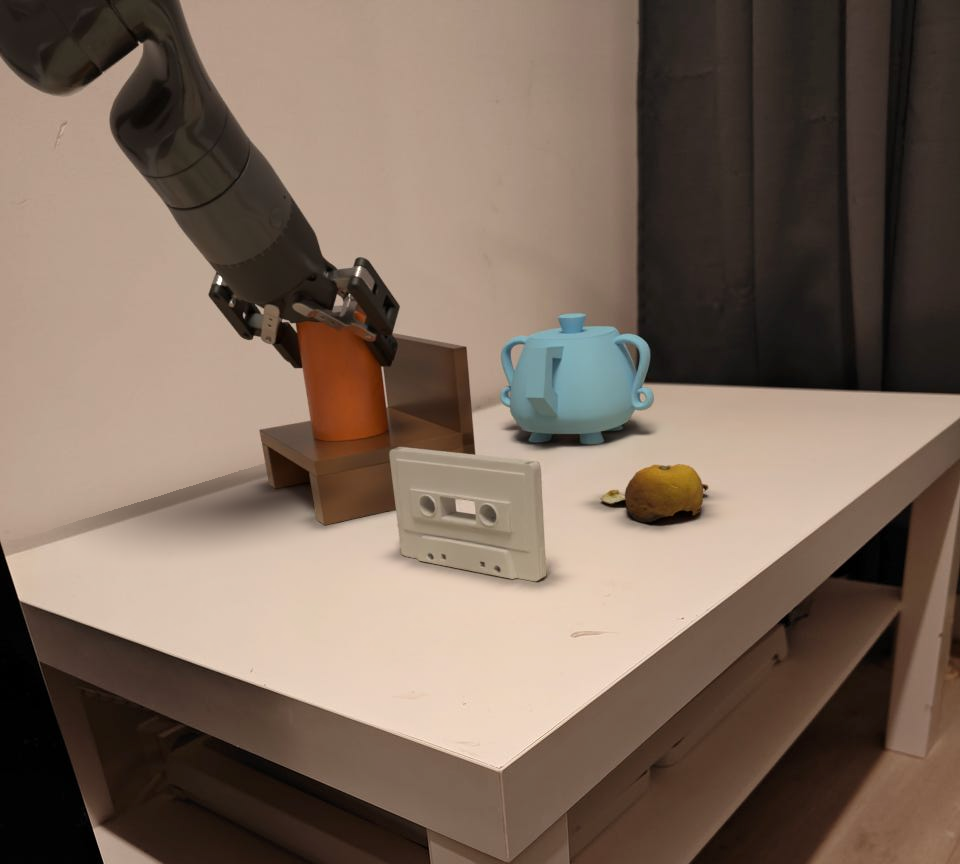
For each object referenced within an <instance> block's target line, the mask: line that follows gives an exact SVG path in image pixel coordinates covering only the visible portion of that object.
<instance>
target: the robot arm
mask: <svg viewBox="0 0 960 864" xmlns="http://www.w3.org/2000/svg"><path fill="white" fill-rule="evenodd" d="M140 44H142V54H141V57H140V59H139V61H138V64H137V65H136V67H135V69H134V70H133V71H132V73H131V74H130V76H129V77H128V79H127V80H126V81H125V82H124V84H123V85H122V87H121V88H120V89H119V91H118V92H117V95H116V97H115V98H114V100H113V102H112V105H111V108H110V112H109V118H108V119H109V120H108V121H109V129H110V132H111V135H112V137H113V140H114V141H115V142H116V144H117V146H118V147H119V149H120V150H121V151H122V153H123V154H124V155H125V157H126V158H127V159H128V161H129V162H130V163H131V165H132V166H134V168H135V169H136V171H138V172H139V174H140V175H141V176H142V177H143V178H144V179H145V181H146V183H148V185H149V186H150V187H151V188H152V190H153V191H154V192H155V193H156V195H158V197H159V198H160V199H161V200H162V202H163V203H164V205H165V206H166V207H167V209H168V211H169V212H170V214H171V216H172V217H173V219H174V221H175V223H176V224H177V225H178V227H179V228H180V229H181V231H182V232H183V233H184V234H185V236H186V237H187V238H188V240H189V241H190V242H191V243H192V244H193V246H194V247H195V248H196V249H197V250H198V252H199V253H200V254H201V255H202V257H203V258H204V259H205V260H206V262H208V264H209V265H210V266H211V268H213V270H214V272H215V274H214V276H213V279H212V282H211V285H210V288H209V291H208V295H207V296H208V298H210V300H211V301H212V303H213V304H214V305H215V306H216V307H217V309H218V310H219V311H220V313H221V314H222V315H223V316H224V318H225V319H226V320H227V322H228V323H229V324H230V325H231V327H232V328H233V329H234V330H235V332H236V333H237V334H238V336H239V337H240V338H242V339H243V340H246V341H252V340H253V339H254V337H258V338H260V340H261V341H262V342H264V344H265V343H266V344H268V345H272V346H273V347H274V349H275V350H276V351H277V352H278V354H279V355H280V356H281V357H282V358H283V360H284V361H286V362H287V363H289V364H290V365H291V367H292V368H293V369H303V368H302V362H301V355H300V349H299V342H298V336H297V330H295V328H294V327H293V326H292V324H296V323H301V322H305V321H309V322H322V323H324V324H326V325H328V326H330V327H331V328H333V329H335V330H337V331H339V332H344V331H345V330H348V331H350V332H352V333H354V334H355V335H357V336H359V337H361V338H363V339H364V342H365V344H366V345H367V347H368V348H369V350H370V351H371V353H372V354H373V356H374V357H375V358H376V360H377V361H378V363H379V364H380V366H381V368H383V367H390V366H391V364H392V361H394V358H395V354H396V351H397V347H398V342H397V341H396V339H395V338H394V336H393V335H392V333H394V329H395V326H396V322H397V319H398V315H399V311H400V309H401V306H400V304H399V302H398V301H397V299H396V298H395V296H394V295H393V294H392V292H391V290H390V289H389V288H388V286H387V285H386V283H385V282H384V281H383V279H382V278H381V276H380V275H379V273H378V272H377V270H376V268H375V267H374V266H373V264H372V263H371V261H370V260H369V259H367V258H365V257H361V256H358V257H356V258H355V260H354V263H353V266H352V267H347V268H345V267H344V268H338V267H336V265H334V264H332V263H331V262H330V261H329V260H327V259H326V258H325V257H324V255H323V253H322V249H321V246H320V243H319V239H318V236H317V234H316V232H315V230H314V228H313V227H312V226H311V224H310V223H309V221H308V219H307V218H306V216H305V215H304V214H303V213H304V212H302V210H301V208H300V207H299V205H298V204H297V203H296V201H295V200H294V197H293V196H292V195H291V193H290V192H289V191H288V189H287V187H286V185H285V184H284V183H283V181H282V180H281V178H280V177H279V175H278V173H277V172H276V170H275V169H274V167H273V166H272V165H271V163H270V162H269V160H268V159H267V158H266V156H265V155H264V154H263V153H262V151H261V150H259V148H258V147H257V146H256V145H255V144H254V142H252V141H251V138H250V137H249V136H248V135H247V133H246V131H245V130H244V129H243V127H242V125H240V122H239V121H238V120H237V118H236V117H235V115H234V114H233V112H232V111H231V108H230V107H229V106H228V104H227V103H226V101H225V100H224V98H223V97H222V95H221V93H220V92H219V90H218V89H217V87H216V86H215V84H214V82H213V80H212V79H211V77H210V75H209V74H208V72H207V69H206V67H205V65H204V63H203V61H202V59H201V57H200V54H199V52H198V49H197V47H196V44H195V42H194V40H193V37H192V33H191V31H190V28H189V25H188V22H187V19H186V17H185V13H184V10H183V7H182V4H181V1H180V0H0V58H1V60H2V61H3V62H4V64H5V65H6V66H7V67H8V68H9V70H10V71H12V73H14V74H15V76H17V77H18V78H19V79H20V80H22V81H23V82H24V83H25V84H27V85H28V86H30V87H32V88H34V89H35V90H37V91H40V92H41V93H43V94H46V95H48V96H49V95H50V96H53V97H61V98H66V97H70V96H73V95H76V94H77V93H79V92H81V91H83V90H84V89H86V88H87V87H88V86H90V85H91V84H92V83H94V82H95V81H96V80H97V79H99V78H100V77H101V76H103V75H104V73H106V72H108V71H109V70H110V69H111V68H113V67H114V66H115V65H117V64H118V63H119V62H120V61H122V60H123V59H124V58H126V56H128V55H129V54H130V53H132V52H133V51H134V50H135V49H137V48H138V47H139V46H140ZM337 296H338V297H340V298H341V300H342V305H343V306H342V309H341V313H340V315H337V314H336V313H334V312H332V310H333V307H334V306H335V303H336V301H337ZM258 307H259V308H261V309H263V313H262V312H261V311H260V309H259V308H258ZM355 310H356V311H357V312H359V313H361V314H363V315H364V316H366V319H365V322H364V323H362V322H360V321H358V320H356V319H355V317H354V312H355ZM283 320H284V321H283Z"/></svg>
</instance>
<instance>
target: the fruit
mask: <svg viewBox="0 0 960 864" xmlns="http://www.w3.org/2000/svg"><path fill="white" fill-rule="evenodd" d="M708 490H709V485H708V484H705V483H703V481H702V478H701V477H700V475H699V473H698V472H697V471H696V470H695V468H693V467H692V466H690V465H688V464H680V463H677V464H674V465H670V464H667V465H661V464H653V465H651V466H647V467H643V468H642V469H640V470H638V471H637V472H636V473H635V474H634V475H633V477H632V478H631V479H630V480H629V482H628V484H627V486H626V487H625V492H624V494H622V493H621V492H620V491H619V489H611V490H609V491H608V492H606V493H605V494H603V495H601V497H600V500H601V501H603V502H604V503H606V504H610V505H614V504H615V503H618V502H622V501H623V502H624V501H625V505H626V506H625V509H626V511H627V512H628V513H629V514H630V515H631V516H632V518H633V519H634V520H635V521H638V522H640V523H652V522H654V521H657V520H658V519H661V518H665V517H666V518H668V517H674V515H675V513H678V512H680V511H684V512H685V511H686V512H692V516H696V515H697V514H699V513H701V510H700V508H701V507H702V505H703V503H704V492H706V491H708Z"/></svg>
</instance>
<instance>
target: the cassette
mask: <svg viewBox="0 0 960 864" xmlns="http://www.w3.org/2000/svg"><path fill="white" fill-rule="evenodd" d="M389 456H390V464H391V473H392V481H393V489H394V497H395V506H396V509H395V513H396V521H397V528H398V538H399V546H400V547H399V548H400V553H401V554H402V556H404V557H408V558H412V559H417V561H418V562H424V563H428V564H432V565H433V564H434V565H439V566H445V567H448V568H449V567H450V568H455V569H459V570H464V571H469V572H475V573H479V574H485V575H489V576H496V577H501V578H506V579H511V580H515V579H520V580H526V581H531V582H538V581H539V580H541V579H543V578H545V577H546V576H547V561H546V559H547V557H546V542H545V541H546V538H545V522H544V521H545V520H544V518H545V517H544V503H543V483H542V482H543V481H542V466H541V464H540V462H539V461H537V460H529V459H521V458H510V457H501V456H493V455H484V454H483V455H481V454H475V455H473V454H463V453H454V452H444V451H435V450H425V449H416V448H406V447H398V448H395V449H393V450H391V451H390V453H389ZM457 500H462V501H467V502H474V511H475V513H470V512H469V513H468V512H463V511H457V502H456V501H457Z"/></svg>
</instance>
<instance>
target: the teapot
mask: <svg viewBox="0 0 960 864" xmlns="http://www.w3.org/2000/svg"><path fill="white" fill-rule="evenodd" d="M586 317H587V314H584V313H583V312H582V313H581V312H578V313H577V312H575V313H574V312H572V313H565V314H560V315H559V316H557V320H558V323H559V326H560V327H556V328H549V329H545V330H541V331H537V332H534V333H532V334H531V335H529V336H528V335H516V336H514V337H512V338H510V339H509V340H507V342H506V343H504V345H503V347H502V349H501V351H500V361H501V366H502V369H503V372H504V376H505V378H506V380H507V382H508V385H506V386H505V387H504V388H502V390H501V392H500V395H499V396H500V401H501V404H503V405H504V406H505V407H507V408H509V412H510V414H511V416H512V418H513V420H514V421H515V422H516V424H517V425H518V426H519V427H520V428H521V430H522V431H525V432H529V433H531V435H530V437H529V438H528V440H527V441H528V442H530V443H546V442H549V441H551V440H552V438H553V435H579V442H580V444H583V445H598V444H599V445H600V444H602V443H603V442H605V440H604V436H603V435H602V432H615V431H621V430H624V427H623V426H622V425H624V424H626V423H627V422H628V421H630V418H631V417H632V416H633V415H634V413H635V411H646V410H649V409H650V408H651V407H652V406H653V405H654V401H655V394H654V392H653V390H652V389H651V388H649V387H646V386H645V387H644V386H643V385H644V383H645V380H646V377H647V374H648V370H649V366H650V362H651V349H650V347H649V344H648V342H647V341H645V340H644V339H643V338H642V337H640V336H639V335H636V334H634V333H623V334H621V333H620V331H619V330H618V329H617V328H616V327H615V326H611V325H609V326H608V325H607V326H605V325H591V326H590V325H589V326H587V325H585V321H586ZM584 325H585V326H584ZM626 344H630V345H632V346H635V347H636V348H637V350H638V353H639V363H638V367H637V369H636V367H635V363H634V360H633V358H632V356H631V353H630V351H629V349H628V347H627V345H626ZM519 345H523V347H522V349H521V352H520V354H519V357H518V361H517V362H516V364H515V365H516V366H515V368H514V365H513V362H512V351H513V350H512V349H513V348H514V347H515V346H519ZM509 393H510V394H509ZM641 394H643V395H644V397H645V400H644V401H642V399H641Z"/></svg>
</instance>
